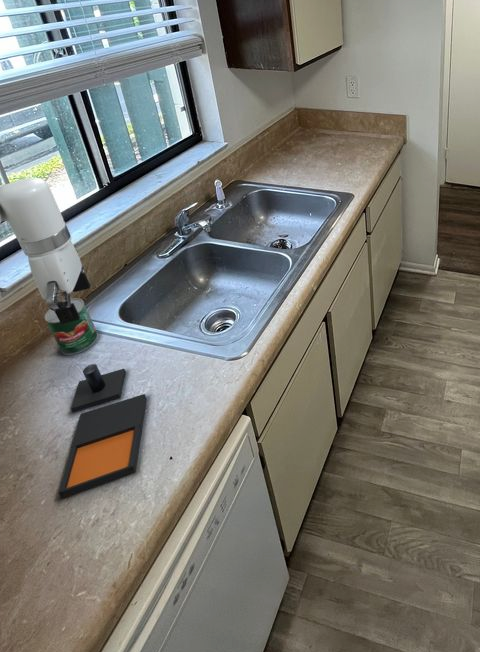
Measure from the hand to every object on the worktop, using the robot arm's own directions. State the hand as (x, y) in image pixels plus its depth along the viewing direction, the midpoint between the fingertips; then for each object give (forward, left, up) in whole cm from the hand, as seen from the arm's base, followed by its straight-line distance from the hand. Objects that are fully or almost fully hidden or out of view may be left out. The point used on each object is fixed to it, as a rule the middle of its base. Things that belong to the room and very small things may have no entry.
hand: (76, 304), depth 92 cm
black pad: (-1, -4, -22) cm, 22 cm away
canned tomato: (-9, +14, -22) cm, 27 cm away
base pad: (+3, -18, -22) cm, 29 cm away
